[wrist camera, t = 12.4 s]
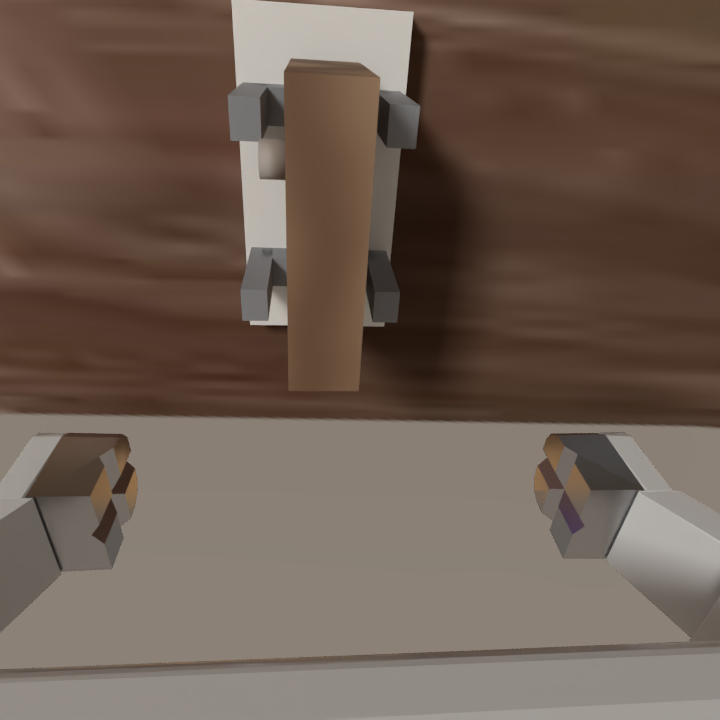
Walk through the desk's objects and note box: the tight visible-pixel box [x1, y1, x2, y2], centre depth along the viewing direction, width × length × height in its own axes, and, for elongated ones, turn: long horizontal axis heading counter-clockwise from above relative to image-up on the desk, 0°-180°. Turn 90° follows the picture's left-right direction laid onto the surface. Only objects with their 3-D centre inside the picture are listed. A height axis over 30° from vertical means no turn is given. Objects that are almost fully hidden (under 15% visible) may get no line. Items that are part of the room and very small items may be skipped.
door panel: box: [258, 58, 380, 391], centre depth 23 cm, size 4×12×8 cm, turn 177°
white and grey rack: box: [228, 0, 420, 327], centre depth 26 cm, size 8×16×7 cm, turn 177°
